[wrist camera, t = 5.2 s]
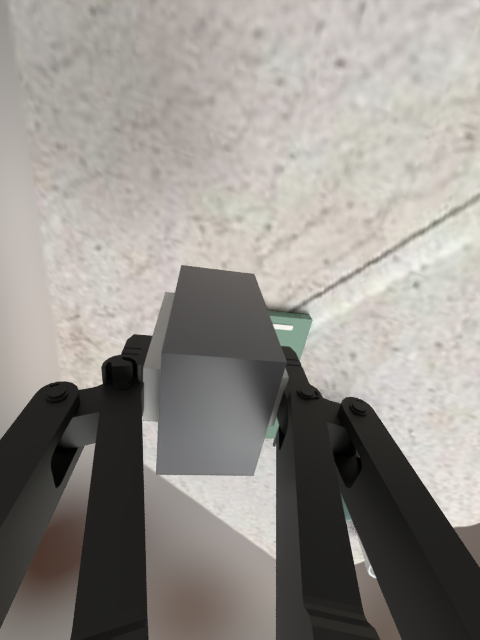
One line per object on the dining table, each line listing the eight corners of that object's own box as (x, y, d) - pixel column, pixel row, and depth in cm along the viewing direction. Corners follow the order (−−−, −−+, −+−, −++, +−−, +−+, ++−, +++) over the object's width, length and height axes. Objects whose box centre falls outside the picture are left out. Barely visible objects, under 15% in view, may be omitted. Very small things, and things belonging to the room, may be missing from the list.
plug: (181, 265, 16) (161, 352, 9) (254, 274, 17) (286, 362, 10) (174, 363, 19) (155, 483, 12) (235, 367, 20) (250, 484, 13)
